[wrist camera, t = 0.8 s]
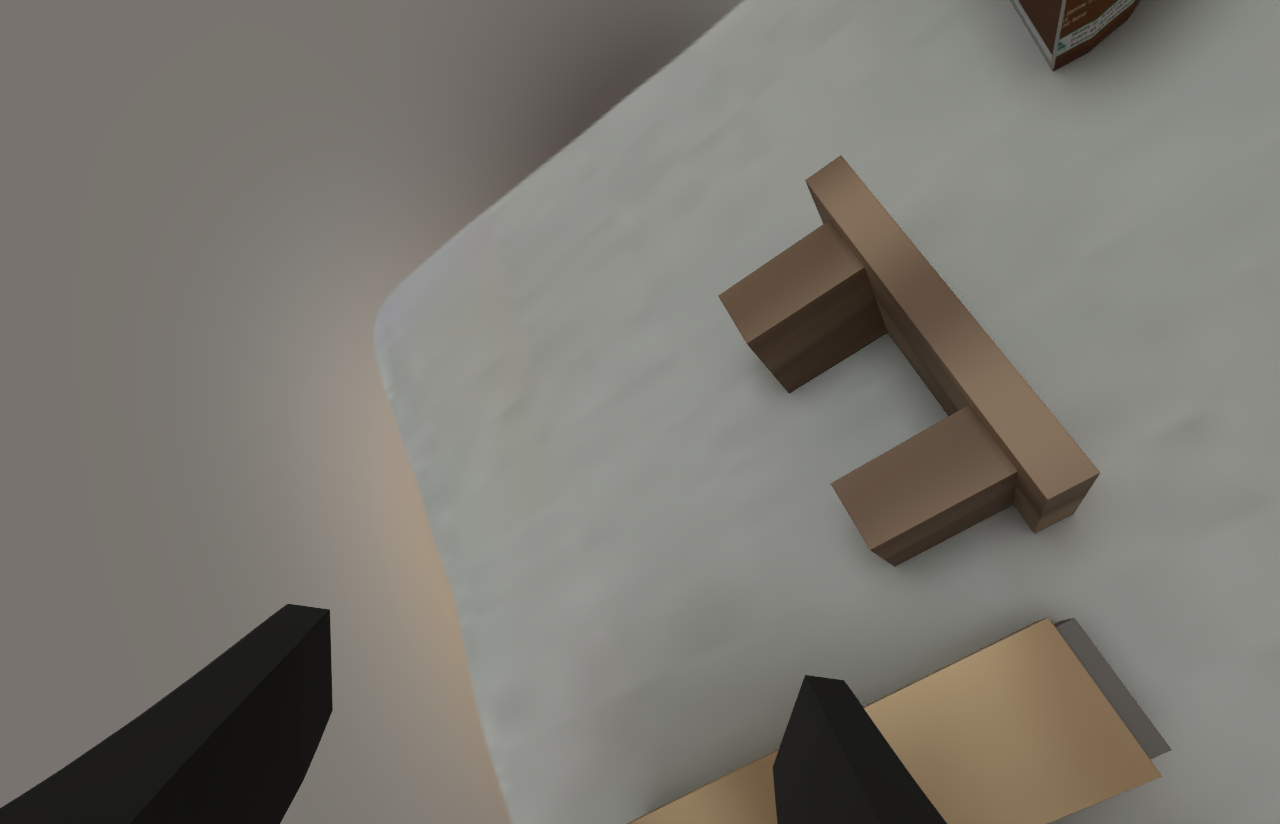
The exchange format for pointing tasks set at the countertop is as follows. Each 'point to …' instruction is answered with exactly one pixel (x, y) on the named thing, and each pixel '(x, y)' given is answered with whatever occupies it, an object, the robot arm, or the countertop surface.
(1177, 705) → the countertop surface
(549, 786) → the countertop surface
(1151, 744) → the rail
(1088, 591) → the countertop surface
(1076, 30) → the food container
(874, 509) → the brown wooden stool
